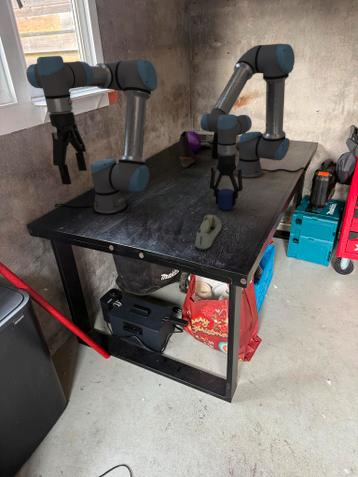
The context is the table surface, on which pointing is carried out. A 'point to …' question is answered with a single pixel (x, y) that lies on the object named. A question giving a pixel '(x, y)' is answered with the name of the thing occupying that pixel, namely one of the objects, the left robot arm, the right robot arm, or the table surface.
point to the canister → (225, 199)
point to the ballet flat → (207, 232)
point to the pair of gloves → (207, 141)
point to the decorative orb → (193, 141)
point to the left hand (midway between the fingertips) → (75, 177)
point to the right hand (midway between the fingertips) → (225, 203)
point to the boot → (186, 151)
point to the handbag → (215, 146)
